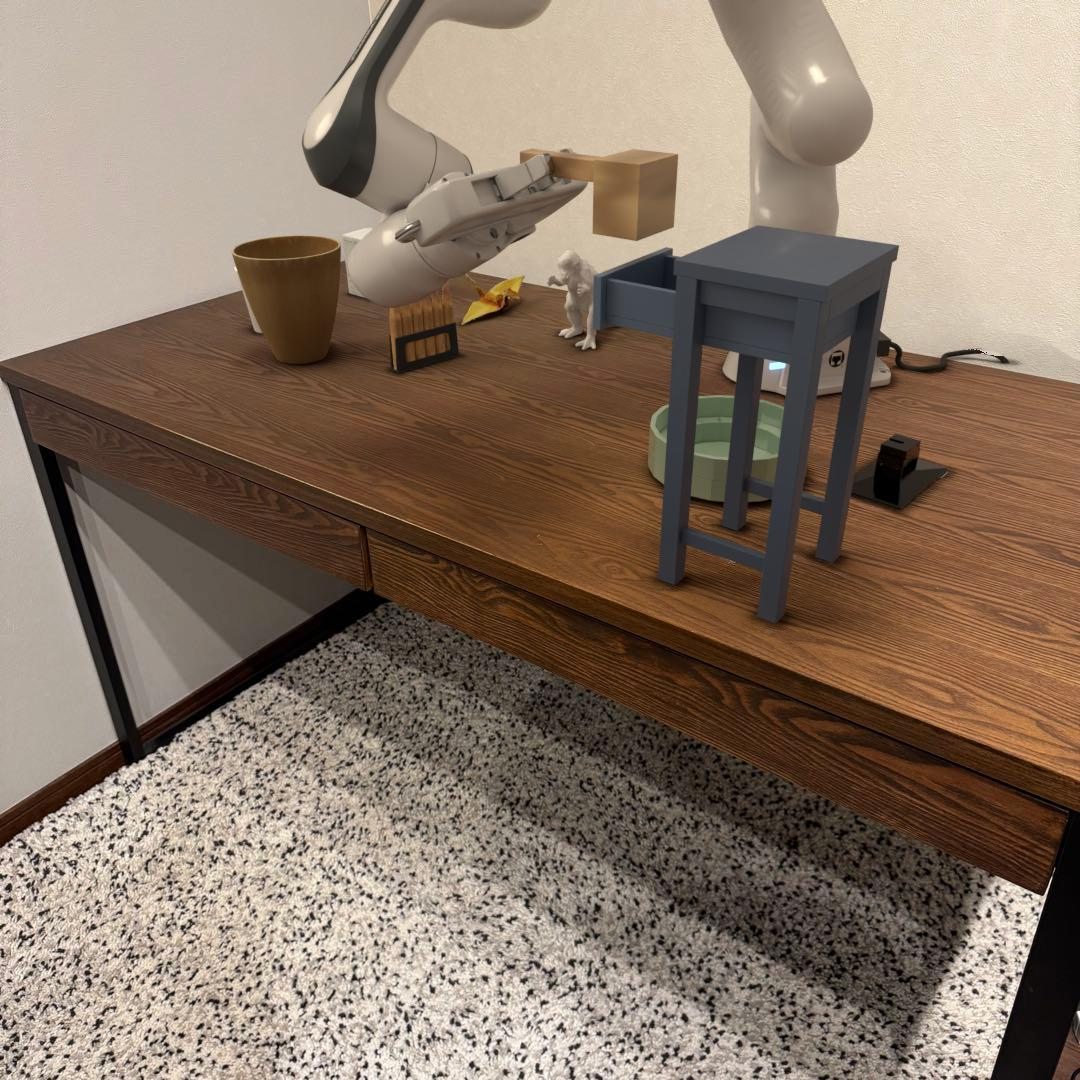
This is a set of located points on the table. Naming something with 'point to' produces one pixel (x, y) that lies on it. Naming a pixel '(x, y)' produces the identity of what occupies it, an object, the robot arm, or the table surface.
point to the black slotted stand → (896, 474)
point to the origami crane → (493, 297)
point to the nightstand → (758, 375)
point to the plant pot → (292, 292)
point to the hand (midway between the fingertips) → (559, 159)
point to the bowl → (719, 445)
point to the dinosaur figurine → (577, 295)
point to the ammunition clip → (423, 332)
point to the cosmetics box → (348, 244)
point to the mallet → (623, 189)
